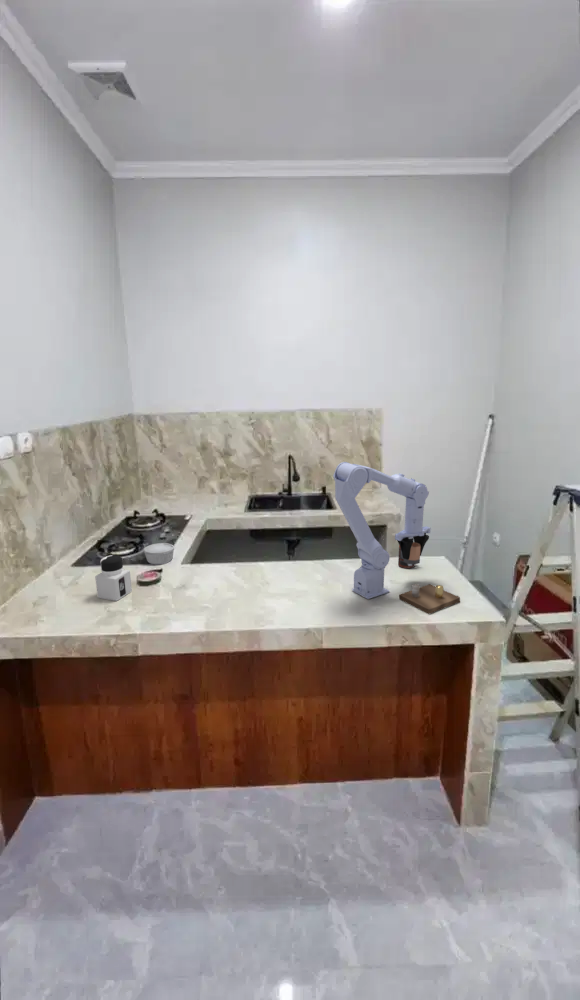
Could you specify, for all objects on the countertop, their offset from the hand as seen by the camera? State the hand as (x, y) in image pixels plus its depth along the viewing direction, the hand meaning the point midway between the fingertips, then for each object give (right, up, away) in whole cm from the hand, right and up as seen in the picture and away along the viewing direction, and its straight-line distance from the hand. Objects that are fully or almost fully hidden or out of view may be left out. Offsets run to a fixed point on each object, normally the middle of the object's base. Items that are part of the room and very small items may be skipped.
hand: (411, 556), depth 158 cm
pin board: (+3, -12, -10) cm, 16 cm away
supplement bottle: (+2, -6, +17) cm, 18 cm away
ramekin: (-91, -5, +26) cm, 95 cm away
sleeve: (0, -2, 0) cm, 2 cm away
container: (-98, -12, -4) cm, 99 cm away
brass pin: (+5, -12, -11) cm, 18 cm away
